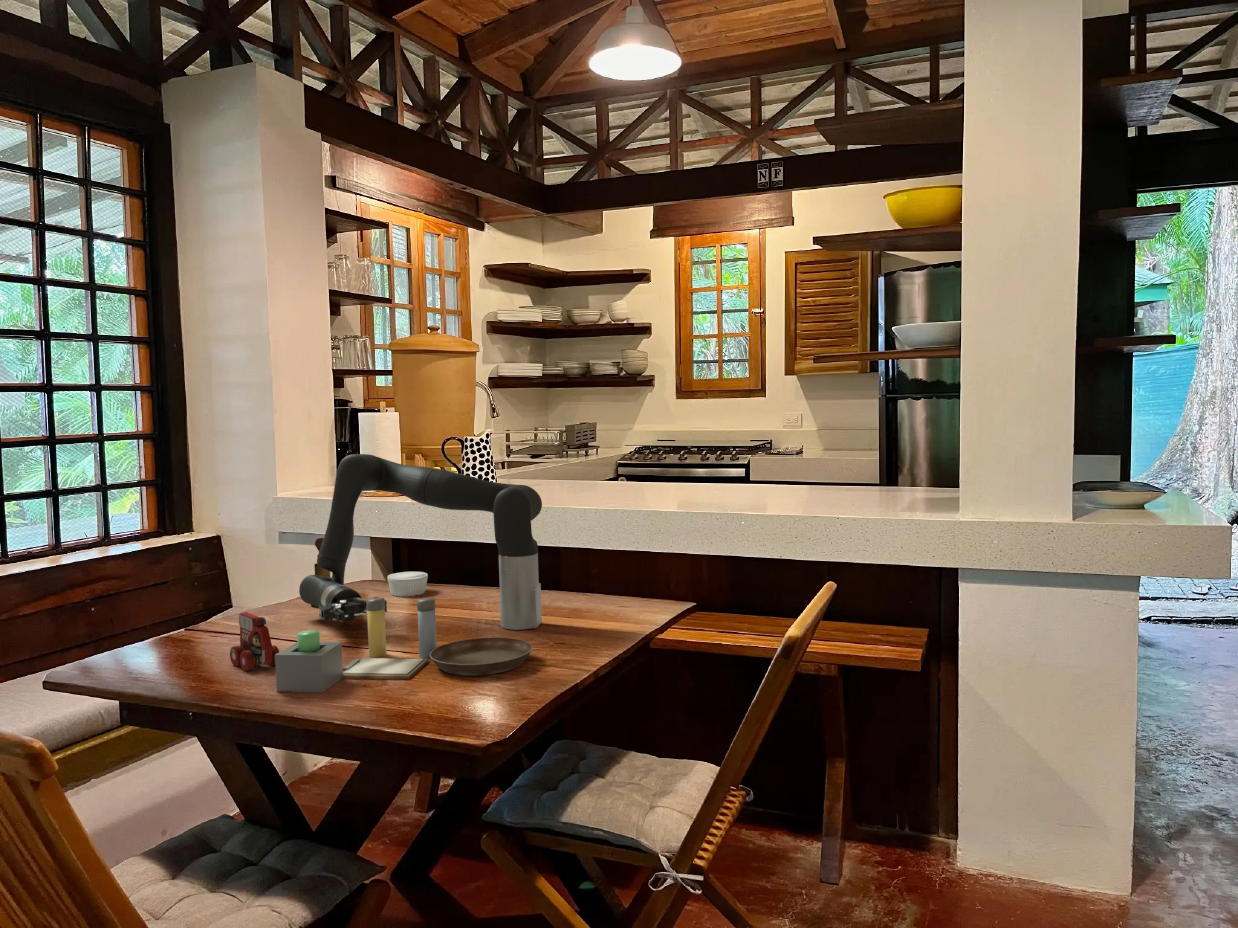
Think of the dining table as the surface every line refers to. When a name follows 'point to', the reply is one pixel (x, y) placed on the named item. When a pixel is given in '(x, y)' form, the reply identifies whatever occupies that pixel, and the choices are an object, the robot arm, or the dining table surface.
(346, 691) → the dining table surface
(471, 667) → the plant saucer
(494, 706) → the dining table surface
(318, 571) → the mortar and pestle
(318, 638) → the button
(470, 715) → the dining table surface
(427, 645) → the slate
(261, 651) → the toy fire truck
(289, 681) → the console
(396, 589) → the ramekin
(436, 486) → the robot arm
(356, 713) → the dining table surface
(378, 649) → the marker mustard
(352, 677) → the sketch pad
